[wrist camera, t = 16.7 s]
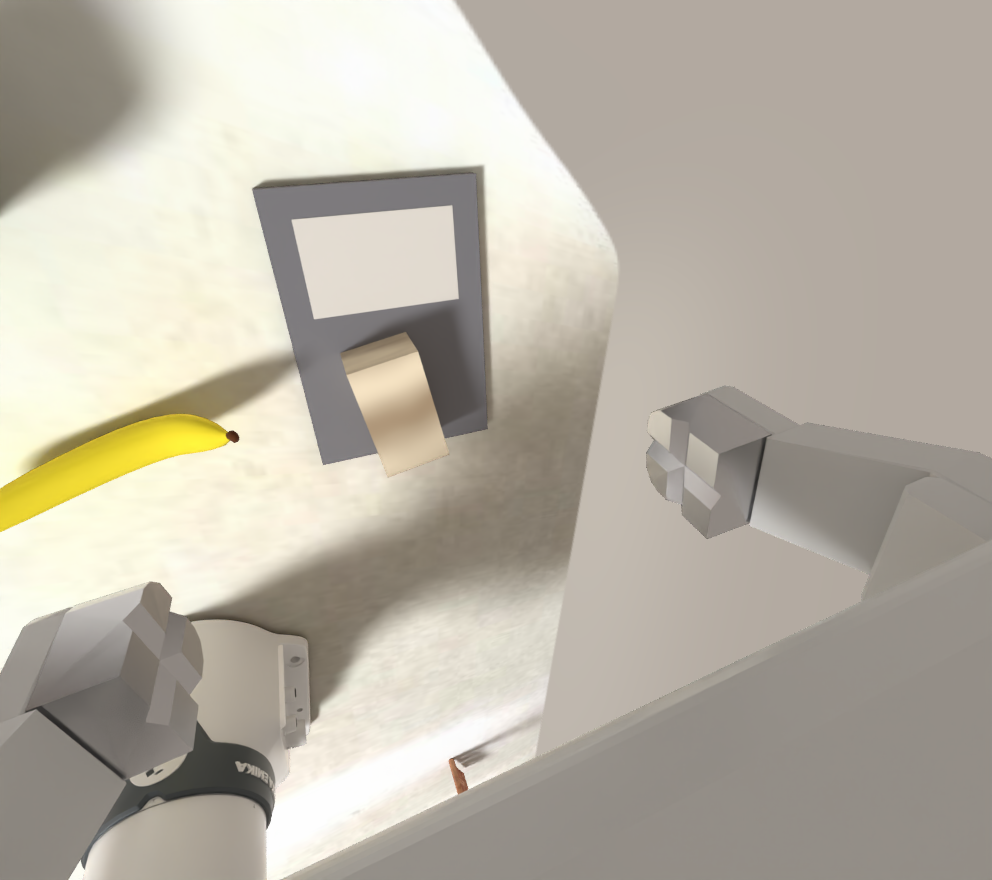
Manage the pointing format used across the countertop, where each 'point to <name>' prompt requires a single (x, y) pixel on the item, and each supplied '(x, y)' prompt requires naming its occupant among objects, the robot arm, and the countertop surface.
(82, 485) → the banana
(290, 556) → the countertop surface
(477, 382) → the mat
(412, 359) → the block
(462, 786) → the key
